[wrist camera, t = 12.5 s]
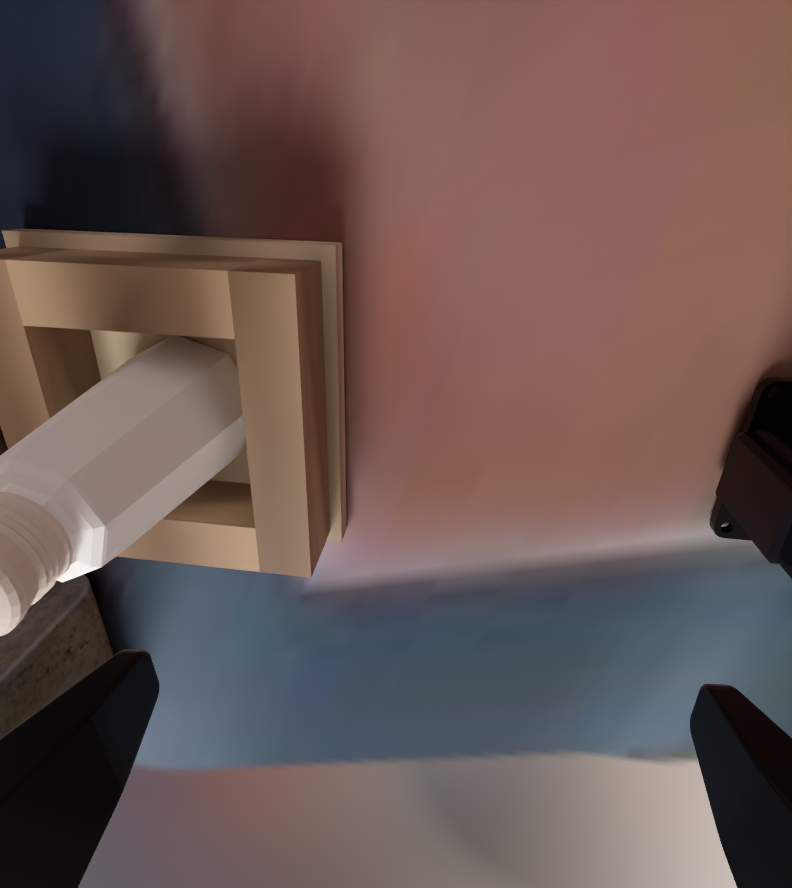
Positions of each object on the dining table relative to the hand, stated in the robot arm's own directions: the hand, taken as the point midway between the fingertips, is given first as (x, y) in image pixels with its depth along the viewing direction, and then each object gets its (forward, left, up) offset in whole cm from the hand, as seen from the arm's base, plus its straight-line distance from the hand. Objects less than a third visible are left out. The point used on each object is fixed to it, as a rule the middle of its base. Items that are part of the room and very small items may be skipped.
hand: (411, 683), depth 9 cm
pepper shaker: (+10, +1, -12) cm, 16 cm away
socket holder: (+10, +1, -13) cm, 17 cm away
